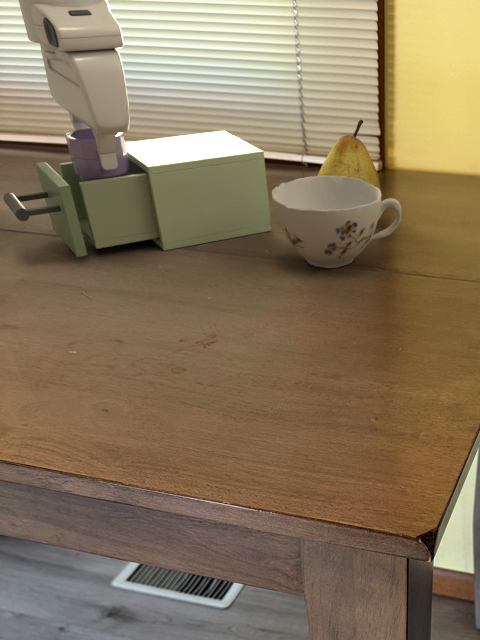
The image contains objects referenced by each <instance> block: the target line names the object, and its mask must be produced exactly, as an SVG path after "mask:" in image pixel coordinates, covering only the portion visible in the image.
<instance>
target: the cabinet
mask: <svg viewBox="0 0 480 640" xmlns="http://www.w3.org/2000/svg"><path fill="white" fill-rule="evenodd" d="M125 146H126V151H127V156H128V159H130V160H131V161H132V162H134V163H135V164H136V165H138V166H139V167H140V168H142V169H143V170H144V171H146V172H147V173H148V179H149V184H150V189H151V194H152V199H153V204H154V210H155V215H156V220H157V225H158V230H159V235H160V238H154V239H151V240H152V241H153V242H154V243H155V244H156V245H157V246H158V247H159V248H160V249H162V250H163V251H164V252H165V251H170V250H175V249H181V248H187V247H191V246H196V245H197V246H198V245H201V244H207V243H212V242H219V241H223V240H229V239H234V238H240V237H245V236H250V235H251V236H252V235H255V234H260V233H261V234H262V233H266V232H271V231H272V221H271V212H270V211H271V210H270V203H269V202H270V201H269V192H268V191H269V190H268V181H267V172H266V171H267V170H266V161H265V151H264V150H262V149H260V148H258V147H257V146H254V145H252V144H251V143H249V142H247V141H245V140H243V139H241V138H240V137H238V136H235V135H233V134H231V133H230V132H228V131H226V130H217V131H208V132H199V133H193V134H192V133H191V134H185V135H176V136H175V135H174V136H168V137H167V136H166V137H160V138H151V139H143V140H142V139H141V140H135V141H125Z"/></svg>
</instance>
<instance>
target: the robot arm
mask: <svg viewBox="0 0 480 640" xmlns="http://www.w3.org/2000/svg"><path fill="white" fill-rule="evenodd" d="M18 4H19V7H20V12H21V16H22V19H23V23H24V27H25V30H26V34H27V39H28V40H29V41H30V42H32V43H36V44H37V43H38V44H39V47H40V52H41V56H42V61H43V66H44V70H45V75H46V79H47V83H48V88H49V91H50V93H51V94H50V95H51V97H52V100H53V101H54V102H55V104H57V105H58V106H60V107H61V108H62V109H64V110H65V112H68V114H69V119H70V121H71V124H72V127H73V129H74V131H75V130H79V129H86V128H91V129H92V132H93V136H94V137H95V140H96V146H97V151H96V153H97V157H98V162H99V165H100V166H101V167H102V168H103V169H105V170H111V169H116V168H117V167H118V163H117V158H116V153H115V152H116V135H115V133H121V132H123V133H126V132H128V131H129V130H130V123H131V122H130V121H131V115H130V106H129V98H128V97H129V96H128V89H127V83H126V77H125V70H124V66H123V60H122V57H121V54H120V52H119V50H118V49H122V48H123V47H124V39H123V38H124V37H123V33H122V29H121V26H120V24H119V23H118V21H117V19H116V18H115V17H114V15H113V12H112V11H111V7H110V5H109V1H108V0H18Z"/></svg>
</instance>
